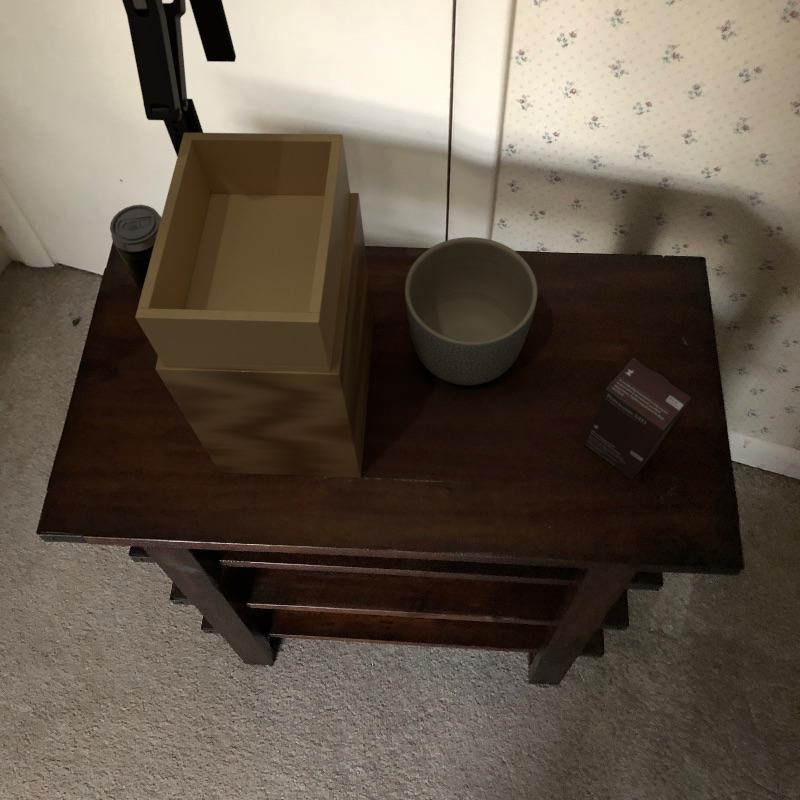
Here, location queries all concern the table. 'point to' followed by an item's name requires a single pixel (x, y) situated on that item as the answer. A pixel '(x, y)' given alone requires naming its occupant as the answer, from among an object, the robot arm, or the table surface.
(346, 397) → the stand
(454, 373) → the planter
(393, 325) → the table surface
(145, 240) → the beer can
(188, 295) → the open bin
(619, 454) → the box
